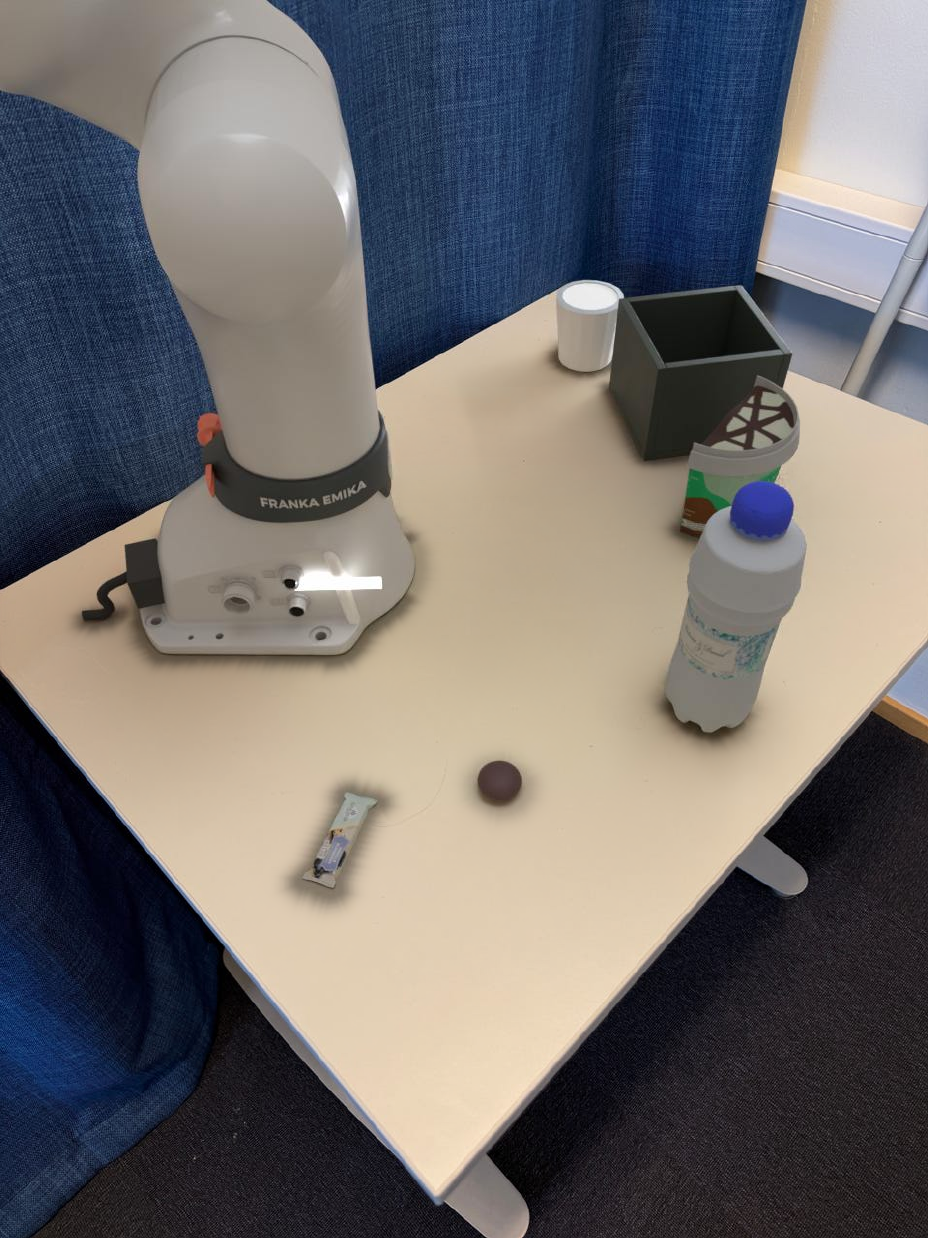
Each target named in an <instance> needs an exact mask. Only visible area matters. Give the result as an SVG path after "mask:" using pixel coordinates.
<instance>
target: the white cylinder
mask: <svg viewBox="0 0 928 1238" xmlns="http://www.w3.org/2000/svg"><path fill="white" fill-rule="evenodd" d="M621 298H625V295H624V293H623V292H622V290H621V289H620V288H619V287H617V286H615V285H613V284H612V283H609V282H606V281H601V280H593V279H581V280H576V281H571V282H569V283H566V284H565V285H562V286H561V287H560V288H559V289H558V291H556V297H555V301H556V302H555V305H556V327H557V329H556V331H557V353H558V357H557V358H558V360H559V361H560V363H561V365H563V366H564V367H566V368H568V369H569V370H572V371H577V372H585V373H586V372H587V373H591V372H595V371H600V370H602V369H604V368H606V367H608V365H609V364H610V363H611V362H612V355H613V346H614V338H615V329H616V320H617V311H618V302H619V299H621Z"/></svg>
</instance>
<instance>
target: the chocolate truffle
mask: <svg viewBox="0 0 928 1238" xmlns="http://www.w3.org/2000/svg"><path fill="white" fill-rule="evenodd" d="M522 783H523V777H522V775H521V772H520V770H519V769H518V768H517V767H516V765H514V764H513V763H511V762H509V761H505V760H493V761H491V762H488V763H486V764H485V765H484V766H482V768H481V769H480V770H479V773H478V775H477V787H478V789H479V791H480V792H481V793H482V795H484V796H485V797H486V798H487V799H489V800H493V801H496V802H497V801H498V802H504V801H508V800H510V799H513V797H516V795H517V794H519V791H520V790H521V788H522V785H523V784H522Z"/></svg>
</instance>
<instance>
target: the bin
mask: <svg viewBox="0 0 928 1238" xmlns="http://www.w3.org/2000/svg"><path fill="white" fill-rule="evenodd" d="M792 356H793V351H791V349H790V348H789V347H788V345H787V344H786V342H785V341H784V340H783V338H782V337H781V336H780V335H779V333H778V332H777V331H776V330H775V328H774V327H773V326H772V324H771V323H770V321H769V320H768V318H767V317H766V316H765V315H764V313H763V312H762V311H761V309H760V308H759V307H758V305H757V304H756V302H755V301H754V300H753V299H752V297H751V296H750V294H749V293H748V292H747V291H746V290H745V287H744V286H743V285H741V284H740V285H730V286H720V287H713V288H712V287H711V288H703V289H693V290H685V291H675V292H666V293H658V294H657V293H656V294H649V295H640V296H630V297H629V296H628V297H624V298H621V299H619V302H618V311H617V320H616V329H615V338H614V346H613V354H612V358H611V365H610V374H609V382H608V389H609V391H610V393H611V395H612V397H613V399H614V401H615V403H616V406H617V407H618V409H619V412H620V414H621V416H622V418H623V420H624V423H625V424H626V426H627V429H628V430H629V432H630V434H631V437H632V439H633V441H634V443H635V445H636V448H637V449H638V451H639V453H640V456H641V458H642V460H643V461H650V460H656V459H657V460H658V459H664V458H673V457H681V456H690V453H691V451H692V450H693V445H694V442H695V443H698V444H702V443H703V442H704V441H705V440H706V439H707V438H708V437H709V436H710V435H711V434H712V432H713V431H714V430H715V429H716V428H717V426H718V425H719V424H720V423H721V421H722V420H723V419H724V418H725V416H726V415H727V414H728V413H729V412H730V411H731V410H732V409H733V408H735V407H736V406H737V405H738V404H739V403H740V402H741V401H742V400H743V399H744V398H745V397H746V396H747V395H748V394H749V393H750V391H751V390H752V389H753V388H754V385H755V381H756V378H757V375H758V376H760V377H763V378H765V379H767V380H769V381H771V382H773V383H775V384H776V385H778V386H779V387H781V388H782V389H783V390H784V385H785V381H786V379H787V375H788V372H789V368H790V364H791V360H792Z"/></svg>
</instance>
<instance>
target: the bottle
mask: <svg viewBox="0 0 928 1238" xmlns="http://www.w3.org/2000/svg"><path fill="white" fill-rule="evenodd" d="M794 509H795V505H794V501H793V498H792V496H791V494H790V493H789V491H787V489H786V488H784V487H783V486H781V485H780V484H777V483H776V482H775V483H772V482H767V481H755V482H751V483H749V484H747V485H745V486H743V487H742V488H740V489H739V491H738V492H737V493H736V495H735V497H734V500H733V503H732V506H729V507H726V508H724V509H721V510H719V511H718V512H716V513H715V514H713V516H712V517H711V518H710V519H709V520H708V521H707V523H706V525H705V528H704V530H703V532H702V535H701V537H699V539H698V542H697V544H696V546H695V549H694V551H693V553H692V554H691V556H690V559H689V564H688V573H687V577H686V587H687V591H688V596H687V599H686V604H685V608H684V613H683V617H682V622H681V626H680V630H679V634H678V639H677V643H676V646H675V648H674V651H673V653H672V656H671V659H670V661H669V665H668V668H667V671H666V672H667V673H666V676H665V687H664V689H665V690H664V691H665V696H666V699H667V700H668V701H669V702H670V703H671V705H672V708H673V712H674V714H675V716H676V719H678V721H679V722H681V723H683V724H684V723H685V724H686V723H688V722H689V721H690V722H692V723H694V724H697V725H698V726H699V727H700V728H701V731H702V732H704V733H713V732H715V731H717V730H719V729H721V728H723V727H727V728H730V729H732V728H733V729H734V728H736V727H738V726H739V725H741V724H742V723H743V721H745V719H746V718H747V717H748V715H749V713H750V712H751V710H752V709H753V707H754V705H755V703H756V701H757V698H758V694H759V690H760V687H761V685H762V679H763V675H764V671H765V667H766V664H767V661H768V658H769V655H770V654H771V650H772V647H773V644H774V641H775V639H776V636H777V633H778V631H779V628H780V625H781V622H782V620H783V618H784V617H785V616H786V615H787V614H788V613H790V611H791V609H792V607H793V606H794V603H795V599H796V598H797V596H798V594H799V593H800V590H801V586H802V577H803V570H804V565H805V558H806V553H807V547H808V546H807V544H808V543H807V541H806V536H805V534H804V531H803V530H802V528H801V527H800V526H799V525H798V524H797V522H796V521H795V520H793V519H792V518H793V515H794Z"/></svg>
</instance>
